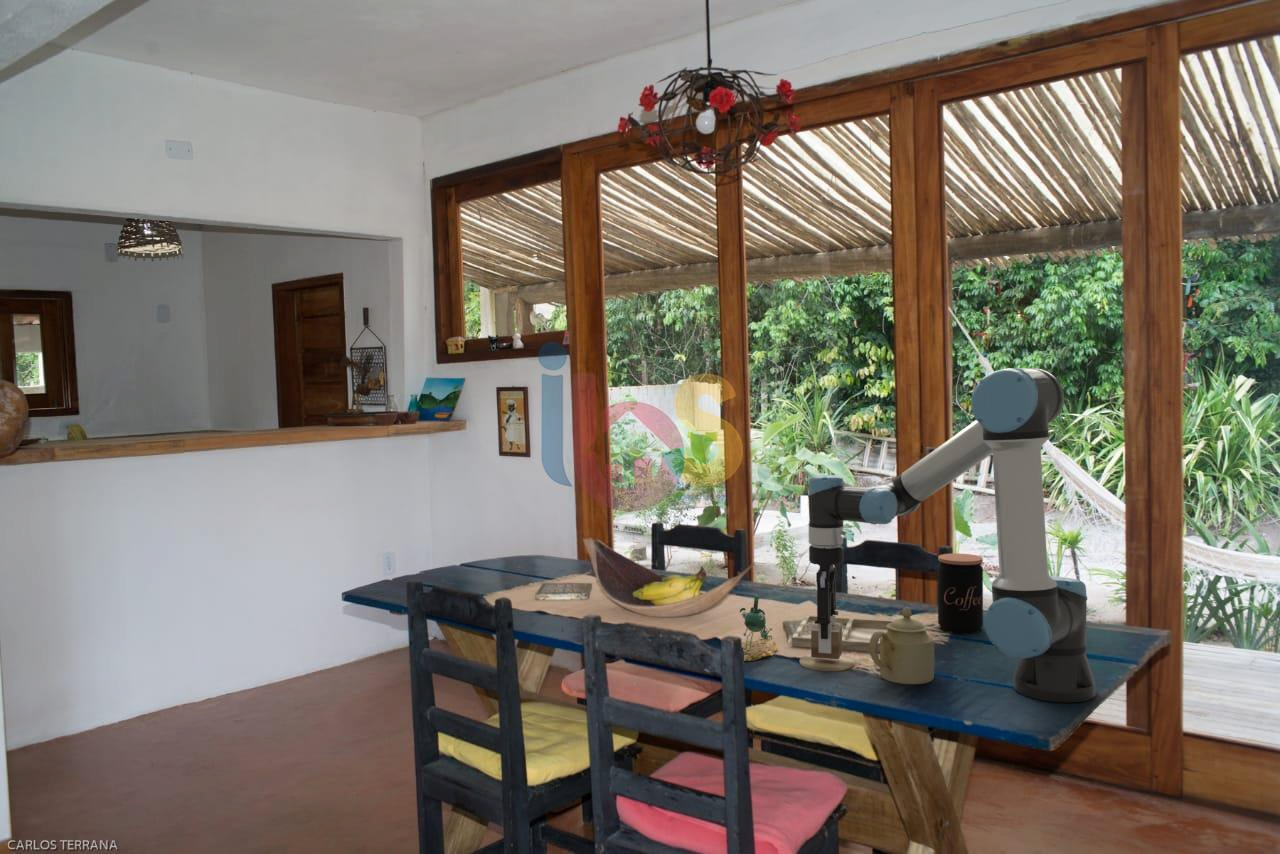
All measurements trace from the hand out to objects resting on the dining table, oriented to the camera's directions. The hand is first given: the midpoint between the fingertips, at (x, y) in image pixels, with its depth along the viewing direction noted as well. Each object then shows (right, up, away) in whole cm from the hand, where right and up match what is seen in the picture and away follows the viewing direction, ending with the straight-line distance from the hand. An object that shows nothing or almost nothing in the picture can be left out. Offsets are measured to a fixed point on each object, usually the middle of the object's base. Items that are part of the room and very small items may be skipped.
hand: (827, 648), depth 216 cm
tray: (+9, -2, +19) cm, 21 cm away
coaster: (0, -3, 0) cm, 3 cm away
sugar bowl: (+14, -4, -12) cm, 19 cm away
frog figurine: (-14, -3, +9) cm, 17 cm away
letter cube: (0, -1, 0) cm, 1 cm away
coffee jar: (+39, -1, +27) cm, 47 cm away
